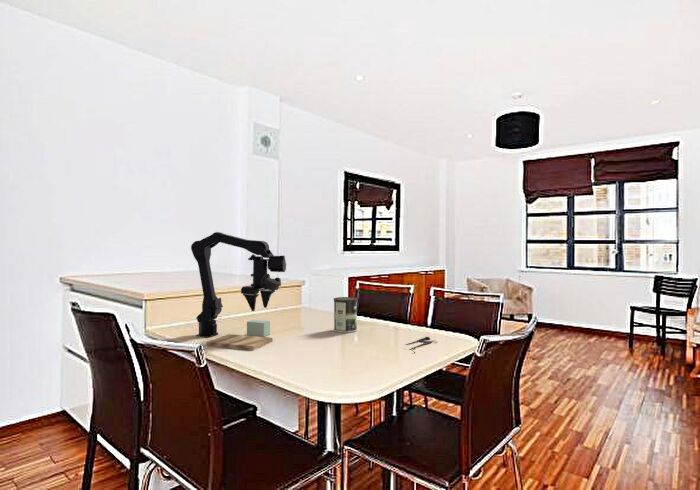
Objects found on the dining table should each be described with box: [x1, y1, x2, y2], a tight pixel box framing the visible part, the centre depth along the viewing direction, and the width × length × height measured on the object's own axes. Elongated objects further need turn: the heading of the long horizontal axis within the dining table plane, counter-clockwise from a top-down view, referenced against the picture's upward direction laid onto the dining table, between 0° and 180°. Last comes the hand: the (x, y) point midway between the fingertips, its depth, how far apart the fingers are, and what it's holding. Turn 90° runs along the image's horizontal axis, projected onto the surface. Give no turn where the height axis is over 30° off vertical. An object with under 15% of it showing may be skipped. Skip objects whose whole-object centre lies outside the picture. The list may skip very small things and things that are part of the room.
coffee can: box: [333, 296, 358, 334], centre depth 189 cm, size 10×10×14 cm
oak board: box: [206, 333, 274, 351], centre depth 164 cm, size 20×14×2 cm
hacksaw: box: [404, 336, 438, 354], centre depth 161 cm, size 24×10×2 cm, turn 135°
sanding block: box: [246, 319, 271, 337], centre depth 179 cm, size 8×5×6 cm, turn 71°
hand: (259, 309), depth 176 cm, fingers open, 9 cm apart
